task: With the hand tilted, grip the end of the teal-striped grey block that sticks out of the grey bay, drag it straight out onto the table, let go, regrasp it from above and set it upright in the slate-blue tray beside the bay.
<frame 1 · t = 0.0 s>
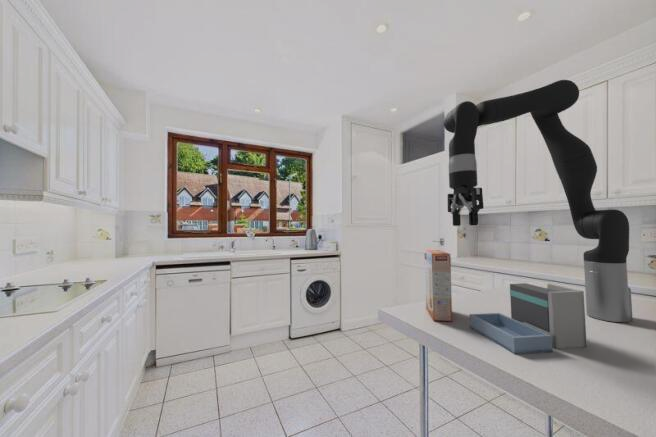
hand: (464, 225, 79), 29 cm above the table, tool pointing down, fingers open, 8 cm apart
cracker box: (438, 315, 88), on the table
tray: (506, 337, 69), on the table
bay: (553, 339, 67), on the table
teal-striped grey block: (537, 333, 71), on the table
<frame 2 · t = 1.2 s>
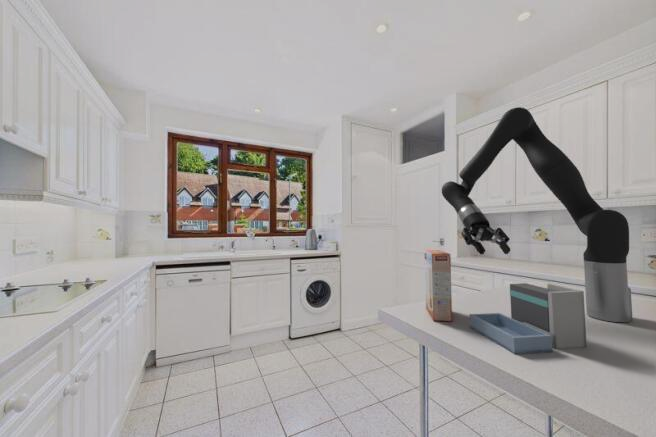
hand: (495, 252, 87), 20 cm above the table, tool tilted 45°, fingers open, 8 cm apart
nothing on the table moved.
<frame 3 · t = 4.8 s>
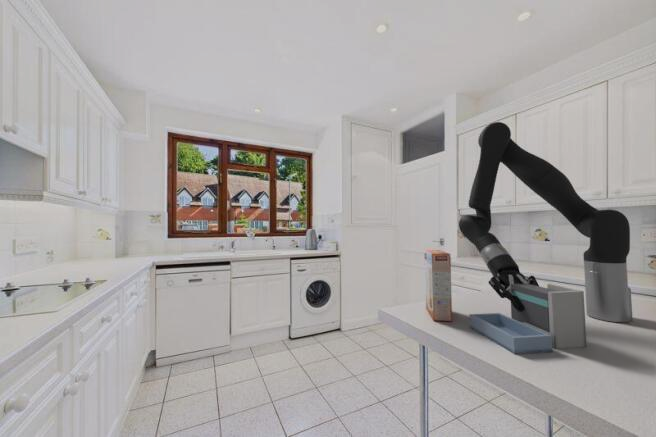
hand: (531, 309, 73), 6 cm above the table, tool tilted 45°, fingers closed on teal-striped grey block, 5 cm apart
teal-striped grey block: (537, 332, 71), on the table, touching gripper
everything else where it was.
when the fingers open (6 cm above the table, at t = 8.0 s): teal-striped grey block stays where it is, on the table.
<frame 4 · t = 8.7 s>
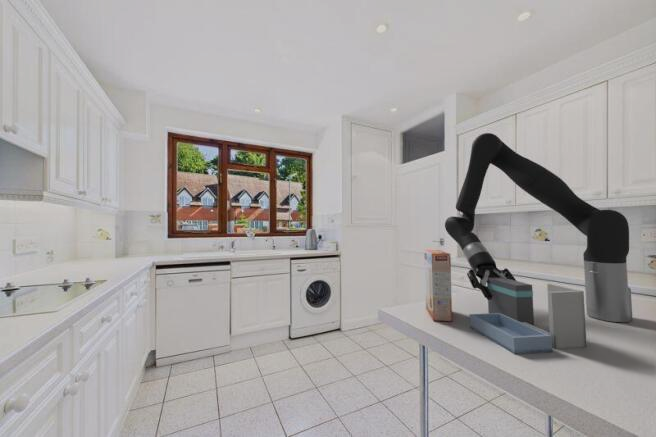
hand: (503, 298, 84), 6 cm above the table, tool tilted 45°, fingers open, 8 cm apart
teal-striped grey block: (509, 320, 81), on the table
everything else where it was.
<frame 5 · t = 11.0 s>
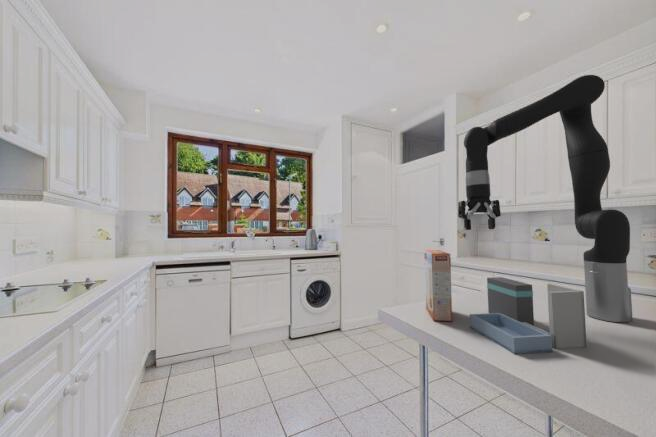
hand: (480, 229, 95), 28 cm above the table, tool pointing down, fingers open, 8 cm apart
nothing on the table moved.
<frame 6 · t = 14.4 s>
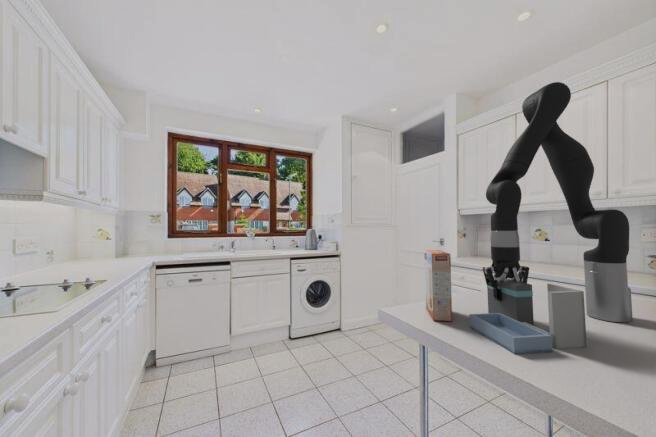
hand: (507, 299, 82), 6 cm above the table, tool pointing down, fingers closed on teal-striped grey block, 5 cm apart
teal-striped grey block: (509, 320, 81), on the table, touching gripper
everything else where it was.
when the fingers open (8 cm above the table, at t = 21.3 s): teal-striped grey block drops 1 cm, resting on tray.
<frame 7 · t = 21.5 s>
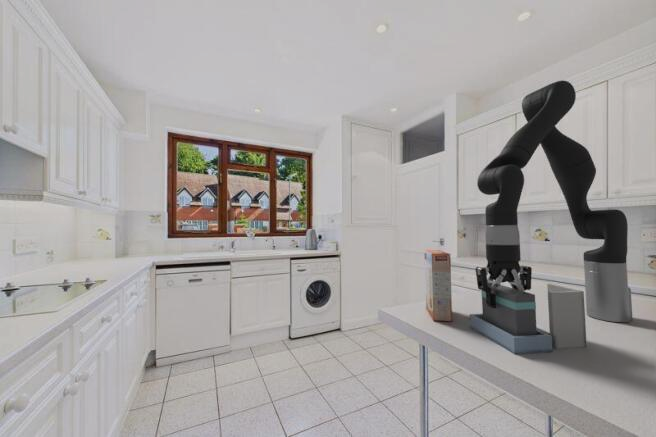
hand: (505, 306, 69), 8 cm above the table, tool pointing down, fingers open, 6 cm apart
teal-striped grey block: (508, 336, 68), point 1 cm above the table, touching tray
everything else where it was.
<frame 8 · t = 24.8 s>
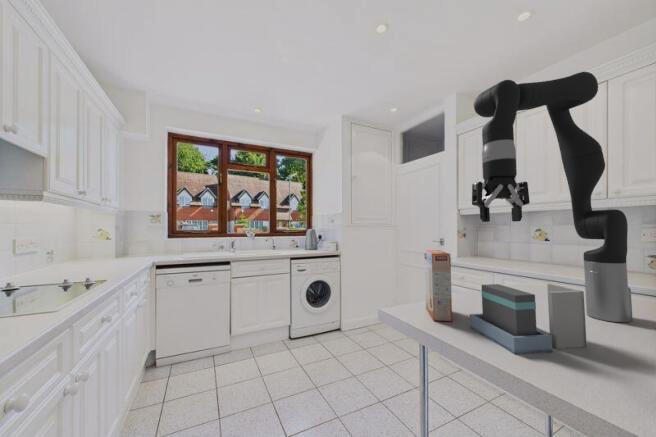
hand: (501, 221, 70), 30 cm above the table, tool pointing down, fingers open, 8 cm apart
nothing on the table moved.
at the end: teal-striped grey block inside the target area on the tray (0.6 cm from its centre), point 0.6 cm above the tray's base; teal-striped grey block tilted 0°; the gripper is holding nothing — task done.
